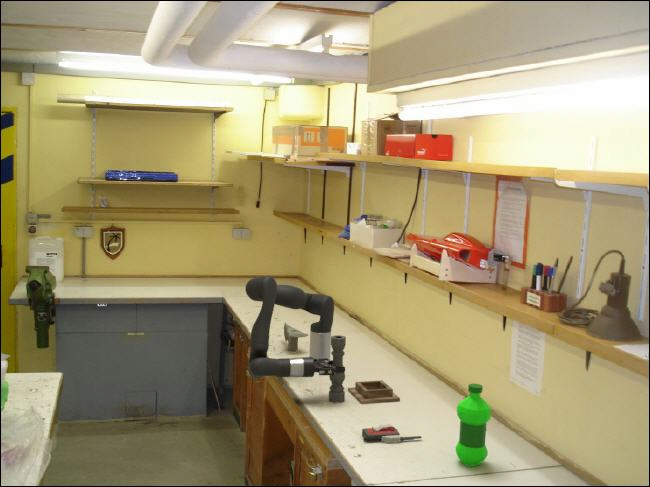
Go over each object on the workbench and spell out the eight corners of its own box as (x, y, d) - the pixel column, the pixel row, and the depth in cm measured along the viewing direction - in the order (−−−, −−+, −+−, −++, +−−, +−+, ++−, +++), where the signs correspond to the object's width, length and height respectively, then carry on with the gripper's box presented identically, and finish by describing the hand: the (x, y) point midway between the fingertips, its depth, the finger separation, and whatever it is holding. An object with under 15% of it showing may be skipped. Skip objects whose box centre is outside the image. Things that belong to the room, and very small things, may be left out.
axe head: (274, 342, 366) (274, 322, 365) (292, 341, 370) (293, 321, 368) (290, 356, 341) (290, 335, 340) (309, 355, 344) (310, 334, 343)
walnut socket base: (348, 390, 295) (348, 380, 295) (385, 388, 300) (385, 378, 299) (361, 403, 280) (361, 393, 280) (399, 401, 285) (400, 390, 284)
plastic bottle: (455, 454, 236) (460, 378, 233) (489, 459, 233) (494, 383, 230) (451, 466, 226) (456, 388, 223) (486, 471, 223) (491, 392, 220)
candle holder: (335, 396, 288) (337, 334, 285) (347, 400, 284) (349, 337, 281) (325, 400, 283) (327, 337, 280) (337, 404, 279) (339, 340, 276)
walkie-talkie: (365, 446, 241) (422, 442, 245) (366, 433, 240) (423, 429, 245) (357, 436, 249) (413, 432, 254) (358, 423, 249) (413, 420, 253)
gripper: (304, 363, 271) (347, 362, 275) (298, 352, 285) (338, 351, 289) (304, 382, 272) (346, 381, 276) (297, 371, 286) (338, 370, 290)
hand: (342, 366), depth 282 cm, fingers open, 8 cm apart
